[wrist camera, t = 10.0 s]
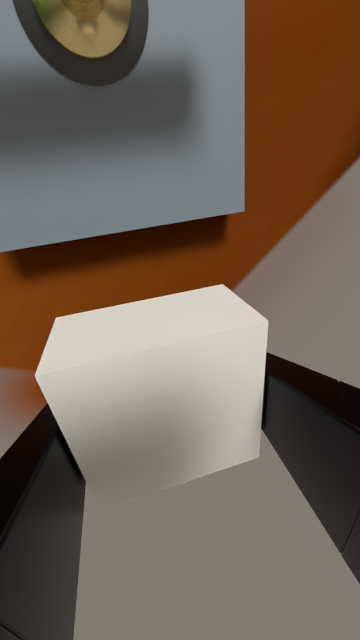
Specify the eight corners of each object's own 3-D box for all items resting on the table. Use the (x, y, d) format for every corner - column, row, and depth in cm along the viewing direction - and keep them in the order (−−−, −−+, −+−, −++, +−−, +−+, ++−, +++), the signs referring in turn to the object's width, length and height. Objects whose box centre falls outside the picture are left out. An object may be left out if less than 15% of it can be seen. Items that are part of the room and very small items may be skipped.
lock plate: (221, -54, 13) (245, -104, 11) (228, 208, 19) (245, 211, 17) (-119, -58, 11) (-180, -123, 8) (11, 244, 17) (-4, 253, 14)
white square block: (222, 284, 8) (268, 320, 6) (225, 399, 10) (258, 456, 8) (56, 317, 7) (34, 375, 5) (100, 435, 10) (100, 511, 7)
